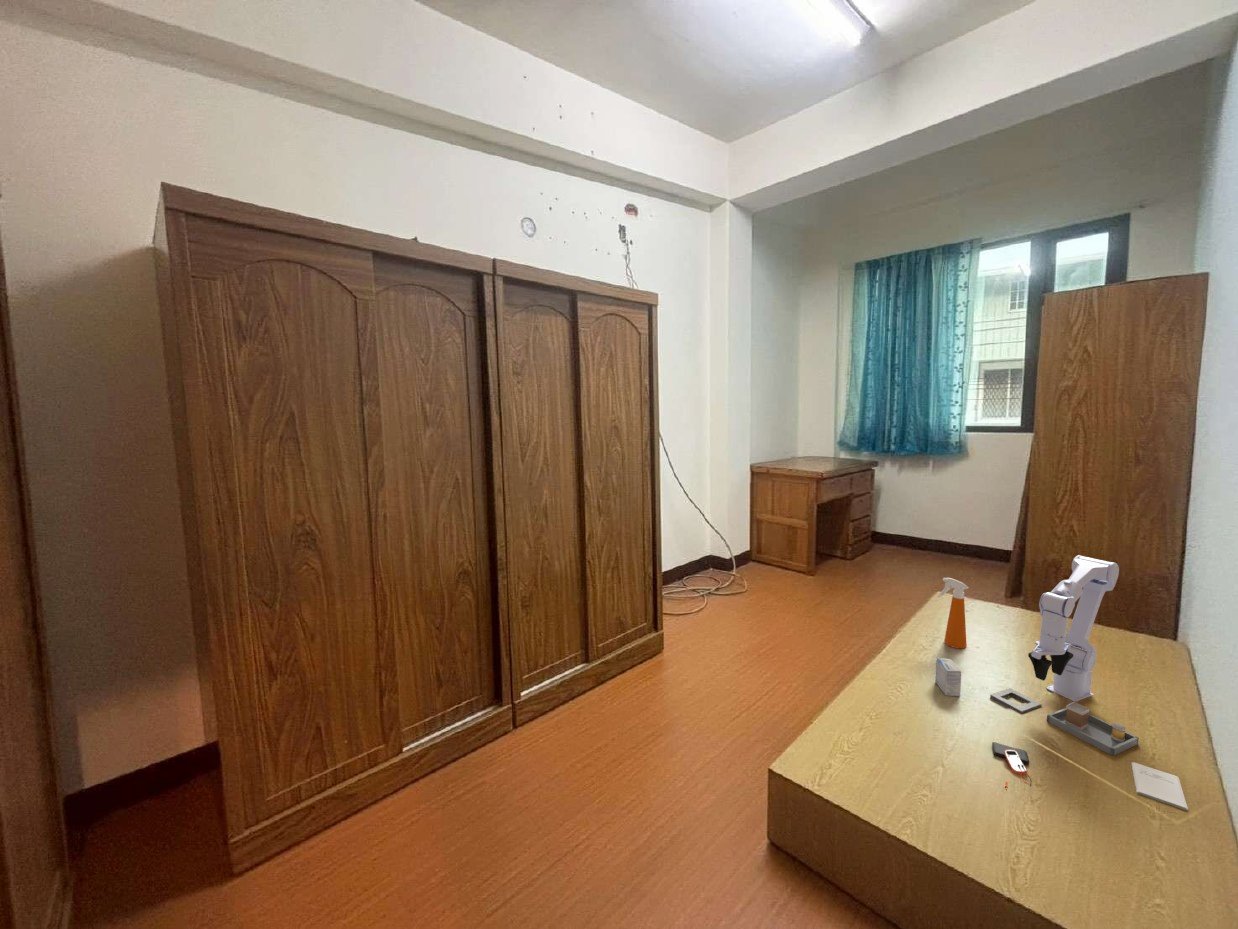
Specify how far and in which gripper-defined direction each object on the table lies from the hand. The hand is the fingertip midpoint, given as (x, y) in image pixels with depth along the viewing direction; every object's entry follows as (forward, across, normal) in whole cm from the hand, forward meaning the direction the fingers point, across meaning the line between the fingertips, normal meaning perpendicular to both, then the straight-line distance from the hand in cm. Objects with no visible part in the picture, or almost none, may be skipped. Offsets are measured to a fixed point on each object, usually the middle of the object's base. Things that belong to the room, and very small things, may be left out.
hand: (1048, 676), depth 150 cm
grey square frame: (+10, +5, -5) cm, 13 cm away
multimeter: (+12, +34, +14) cm, 39 cm away
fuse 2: (+10, -2, +16) cm, 19 cm away
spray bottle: (+10, -11, -38) cm, 41 cm away
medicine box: (+11, +17, -18) cm, 27 cm away
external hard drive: (+11, +9, +29) cm, 33 cm away
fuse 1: (+10, +1, +8) cm, 13 cm away
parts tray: (+10, +1, +12) cm, 16 cm away
